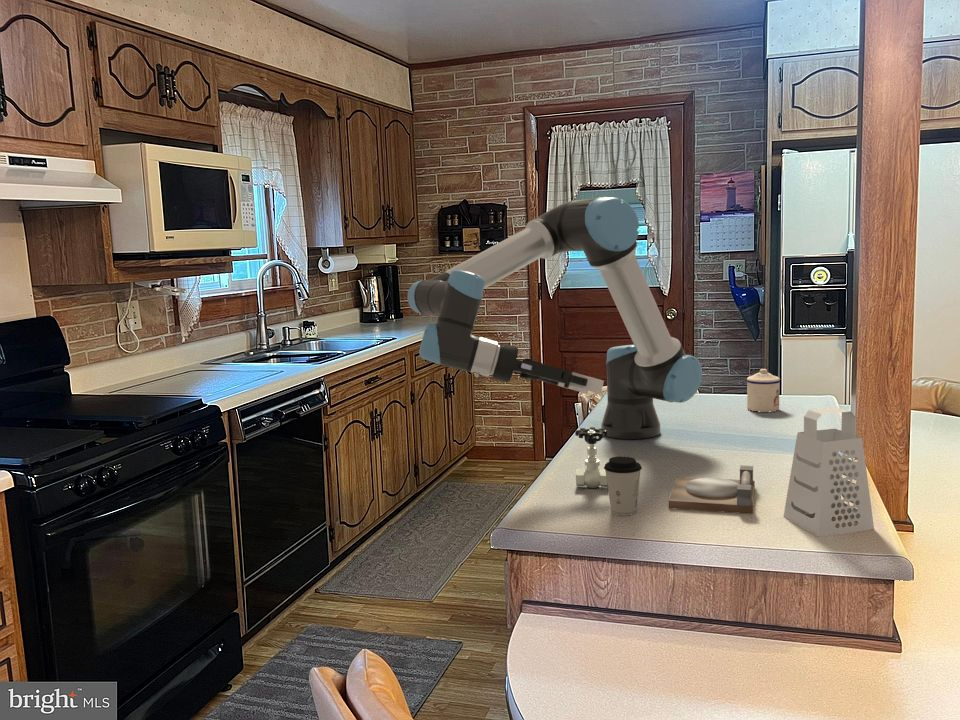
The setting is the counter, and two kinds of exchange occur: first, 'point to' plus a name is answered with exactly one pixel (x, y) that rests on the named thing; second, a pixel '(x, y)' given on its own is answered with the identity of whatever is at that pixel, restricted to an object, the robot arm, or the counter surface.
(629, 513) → the coffee cup
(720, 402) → the counter surface
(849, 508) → the grater
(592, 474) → the valve
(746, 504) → the shaft stand
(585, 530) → the counter surface
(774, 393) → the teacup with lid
